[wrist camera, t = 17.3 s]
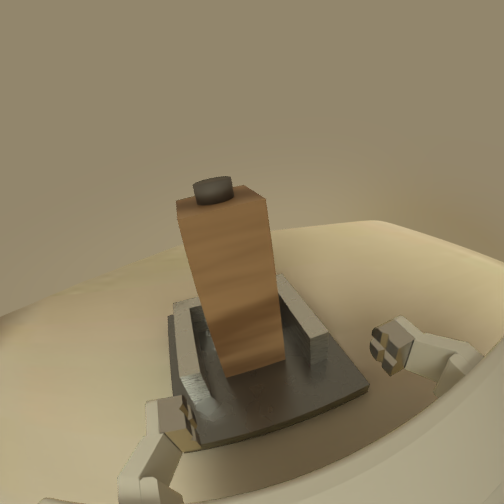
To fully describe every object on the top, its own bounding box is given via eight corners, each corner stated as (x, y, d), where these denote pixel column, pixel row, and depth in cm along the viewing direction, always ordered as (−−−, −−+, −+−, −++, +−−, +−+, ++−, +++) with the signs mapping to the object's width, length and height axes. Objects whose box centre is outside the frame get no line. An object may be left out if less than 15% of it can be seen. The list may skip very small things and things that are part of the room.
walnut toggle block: (285, 359, 21) (262, 178, 15) (225, 377, 20) (172, 198, 14) (266, 323, 25) (240, 169, 19) (214, 338, 24) (172, 184, 18)
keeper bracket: (367, 391, 17) (385, 311, 14) (184, 453, 15) (132, 391, 11) (289, 290, 31) (282, 225, 28) (170, 323, 29) (146, 259, 25)
